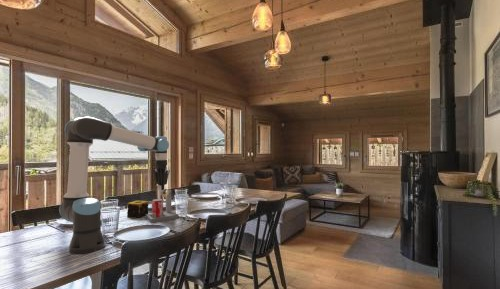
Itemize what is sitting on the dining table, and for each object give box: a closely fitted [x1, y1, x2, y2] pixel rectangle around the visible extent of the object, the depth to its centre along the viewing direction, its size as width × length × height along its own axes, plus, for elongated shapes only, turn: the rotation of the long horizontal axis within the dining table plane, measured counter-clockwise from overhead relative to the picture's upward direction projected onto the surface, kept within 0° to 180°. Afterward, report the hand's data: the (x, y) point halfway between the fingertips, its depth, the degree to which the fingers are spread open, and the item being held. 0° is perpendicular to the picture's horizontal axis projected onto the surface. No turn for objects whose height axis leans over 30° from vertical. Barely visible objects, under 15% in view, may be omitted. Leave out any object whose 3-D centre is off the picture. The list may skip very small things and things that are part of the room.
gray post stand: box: [144, 193, 179, 223], centre depth 187 cm, size 18×14×15 cm
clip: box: [161, 189, 172, 198], centre depth 188 cm, size 15×4×3 cm, turn 4°
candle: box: [126, 200, 149, 219], centre depth 192 cm, size 10×10×10 cm
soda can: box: [151, 198, 164, 218], centre depth 184 cm, size 7×7×13 cm
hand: (161, 194), depth 183 cm, fingers closed
